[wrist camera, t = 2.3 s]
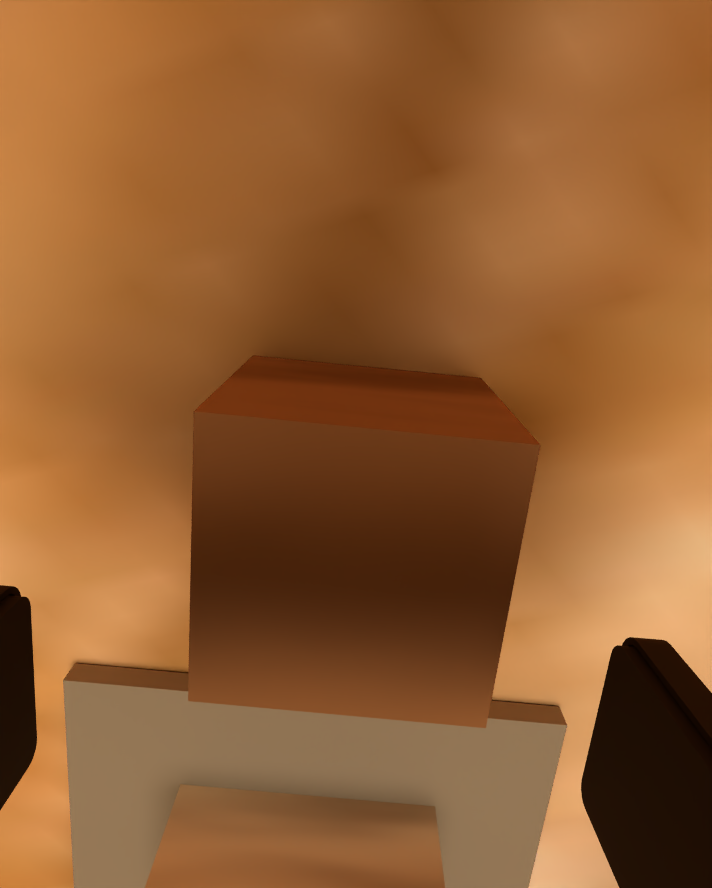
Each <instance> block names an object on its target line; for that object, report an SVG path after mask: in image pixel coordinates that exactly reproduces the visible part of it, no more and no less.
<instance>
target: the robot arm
mask: <svg viewBox="0 0 712 888" xmlns="http://www.w3.org/2000/svg"><path fill="white" fill-rule="evenodd" d="M36 744H37V730H36V709H35V688H34V667H33V645H32V624H31V606H30V601H29V599H28V598H27V597H21V595H20V592H19V590H18V589H17V588H16V587H14V586H1V585H0V810H1V808H2V807H3V805H4V804H5V802H6V801H7V799H8V798H9V796H10V795H11V793H12V792H13V790H14V789H15V787H16V785H17V784H18V782H19V781H20V779H21V778H22V776H23V775H24V773H25V772H26V770H27V769H28V767H29V765H30V763H31V761H32V759H33V756H34V753H35V750H36ZM581 792H582V799H583V804H584V807H585V809H586V812H587V814H588V816H589V818H590V821H591V823H592V825H593V828H594V830H595V832H596V835H597V837H598V839H599V842H600V844H601V846H602V849H603V851H604V853H605V855H606V858H607V860H608V862H609V865H610V867H611V869H612V872H613V874H614V876H615V879H616V881H617V883H618V886H619V888H712V693H711V692H710V691H709V689H708V688H707V687H706V686H705V685H704V684H703V682H702V681H701V680H700V679H699V678H698V677H697V675H696V674H695V673H694V672H693V671H692V669H691V668H690V667H689V666H688V665H687V664H686V662H685V661H684V660H683V659H682V658H681V657H680V655H679V654H678V653H677V652H676V651H675V649H674V648H673V647H672V646H671V645H670V644H669V643H668V642H667V641H664V640H656V639H644V638H632V637H629V638H627V639H626V640H625V641H624V642H623V644H622V646H618V645H617V646H615V647H614V649H613V650H612V653H611V657H610V661H609V665H608V670H607V674H606V678H605V683H604V687H603V691H602V696H601V700H600V704H599V708H598V713H597V717H596V721H595V726H594V730H593V734H592V738H591V743H590V747H589V751H588V756H587V760H586V764H585V768H584V773H583V777H582V783H581Z"/></svg>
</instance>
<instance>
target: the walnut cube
mask: <svg viewBox="0 0 712 888" xmlns="http://www.w3.org/2000/svg"><path fill="white" fill-rule="evenodd" d="M539 450H540V444H539V443H538V442H537V441H536V440H535V438H534V437H533V436H532V435H531V434H530V433H529V432H528V431H527V429H526V428H525V427H524V426H523V425H522V424H521V423H520V422H519V420H518V419H517V418H516V417H515V416H514V415H513V414H512V413H511V411H510V410H509V409H508V408H507V407H506V406H505V405H504V403H503V402H502V401H501V400H500V399H499V398H498V397H497V396H496V394H495V393H494V392H493V391H492V390H491V389H490V388H489V387H488V385H487V384H486V383H485V382H484V381H483V380H482V379H481V378H476V377H466V376H455V375H445V374H435V373H425V372H415V371H404V370H394V369H384V368H374V367H364V366H354V365H343V364H333V363H323V362H313V361H303V360H293V359H282V358H272V357H262V356H252V357H251V358H250V359H249V360H248V361H247V362H246V363H245V364H244V365H243V366H242V367H241V368H240V369H238V370H237V371H236V372H235V373H234V374H233V375H232V376H231V377H230V378H229V379H228V380H227V381H226V382H225V383H224V384H223V385H221V386H220V387H219V388H218V389H217V390H216V391H215V392H214V393H213V394H212V395H211V396H210V397H209V398H208V399H207V400H206V401H204V402H203V403H202V404H201V405H200V406H199V407H198V408H197V409H196V410H195V411H194V433H193V483H192V532H191V581H190V631H189V680H188V701H192V702H203V703H214V704H225V705H236V706H247V707H258V708H269V709H280V710H291V711H302V712H313V713H324V714H335V715H346V716H357V717H368V718H379V719H390V720H401V721H412V722H423V723H434V724H445V725H456V726H467V727H478V728H486V725H487V720H488V715H489V709H490V704H491V699H492V694H493V689H494V683H495V678H496V673H497V668H498V663H499V658H500V652H501V647H502V642H503V637H504V632H505V626H506V621H507V616H508V611H509V606H510V601H511V595H512V590H513V585H514V580H515V575H516V569H517V564H518V559H519V554H520V549H521V543H522V538H523V533H524V528H525V523H526V518H527V512H528V507H529V502H530V497H531V492H532V486H533V481H534V476H535V471H536V466H537V460H538V455H539Z"/></svg>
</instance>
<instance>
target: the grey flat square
mask: <svg viewBox="0 0 712 888" xmlns="http://www.w3.org/2000/svg"><path fill="white" fill-rule="evenodd" d="M188 680H189V673H179V672H168V671H156V670H145V669H134V668H123V667H112V666H101V665H90V664H78V663H75V664H74V666H73V667H72V668H71V670H70V671H69V673H68V674H67V676H66V677H65V679H64V680H63V685H64V705H65V724H66V743H67V762H68V781H69V800H70V820H71V839H72V858H73V877H74V888H145V886H146V883H147V880H148V877H149V874H150V871H151V868H152V865H153V862H154V860H155V857H156V854H157V851H158V848H159V845H160V842H161V839H162V836H163V833H164V831H165V828H166V825H167V822H168V819H169V816H170V813H171V810H172V807H173V804H174V802H175V799H176V796H177V793H178V790H179V787H180V784H183V785H195V786H206V787H218V788H229V789H241V790H252V791H264V792H275V793H287V794H298V795H310V796H321V797H333V798H344V799H356V800H367V801H378V802H390V803H401V804H413V805H424V806H435V810H436V818H437V826H438V834H439V843H440V851H441V859H442V867H443V875H444V883H445V888H528V887H529V883H530V878H531V874H532V870H533V866H534V862H535V857H536V853H537V849H538V845H539V841H540V837H541V832H542V828H543V824H544V820H545V816H546V811H547V807H548V803H549V799H550V795H551V791H552V786H553V782H554V778H555V774H556V770H557V765H558V761H559V757H560V753H561V749H562V745H563V740H564V736H565V732H566V728H567V724H566V722H565V719H564V717H563V714H562V712H561V710H560V707H558V706H547V705H535V704H524V703H513V702H502V701H491V704H490V709H489V715H488V720H487V725H486V728H478V727H467V726H456V725H445V724H434V723H423V722H412V721H401V720H390V719H379V718H368V717H357V716H346V715H335V714H324V713H313V712H302V711H291V710H280V709H269V708H258V707H247V706H236V705H225V704H214V703H203V702H192V701H188Z"/></svg>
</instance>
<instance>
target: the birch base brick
mask: <svg viewBox="0 0 712 888" xmlns="http://www.w3.org/2000/svg"><path fill="white" fill-rule="evenodd" d="M145 888H445V883H444V875H443V867H442V859H441V851H440V843H439V834H438V826H437V818H436V810H435V806H424V805H413V804H401V803H390V802H378V801H367V800H356V799H344V798H333V797H321V796H310V795H298V794H287V793H275V792H264V791H252V790H241V789H229V788H218V787H206V786H195V785H183V784H180V787H179V790H178V793H177V796H176V799H175V802H174V804H173V807H172V810H171V813H170V816H169V819H168V822H167V825H166V828H165V831H164V833H163V836H162V839H161V842H160V845H159V848H158V851H157V854H156V857H155V860H154V862H153V865H152V868H151V871H150V874H149V877H148V880H147V883H146V886H145Z"/></svg>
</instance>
